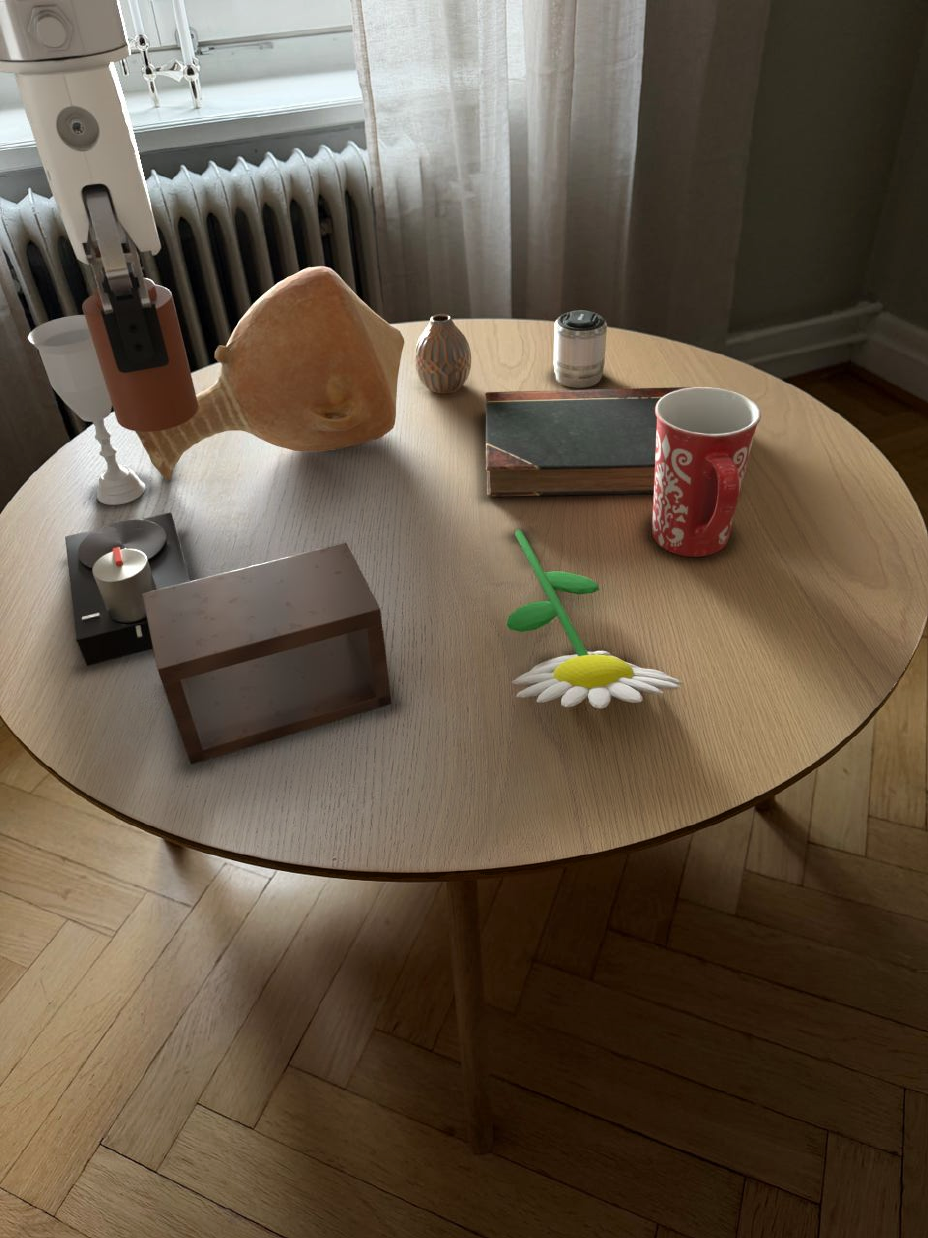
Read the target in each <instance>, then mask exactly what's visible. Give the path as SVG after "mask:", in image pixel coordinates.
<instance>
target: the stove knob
mask: <svg viewBox="0 0 928 1238" xmlns="http://www.w3.org/2000/svg"><path fill="white" fill-rule="evenodd" d="M92 571H93V575H94V578H95V580H96V583H97V586H98V588H99V591H100V593H101V596H102V599H103V601H104V604H105V607H106V609H107V612H108V615H109V616H110V617H111V618H112V619H113V620H115V621H118V622H123V623H129V622H136V621H140V620H142V619H145V618H147V616H146V611H145V606H144V601H143V596H142V594H143V593H146V592H150V591H154V590H157V588H156V585H155V581H154V578H153V575H152V572H151V569H150V566H149V563H148V560H147V557H146V555H145V554H144V553H142V552H141V551H138V550H134V549H122V550H120V547H117V548H113V552H110V553H108V554H106V555H104V556H102V557H101V558H100V559H98V560H97V561H96V563H95V564H94V566H93V570H92Z"/></svg>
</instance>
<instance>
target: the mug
mask: <svg viewBox="0 0 928 1238" xmlns="http://www.w3.org/2000/svg"><path fill="white" fill-rule="evenodd" d="M694 387H695V388H686V389H681V390H677V391H674V392H671V393H669V394H667V395H665V396H663V397H662V398H661V399H660V400H659V401H658V403H657V404H656V407H655V413H656V416H657V433H656V456H655V478H654V494H653V501H652V502H653V504H652V519H651V535H652V538H653V540H654V541H655V543H657V544H658V545H659V546H660V547H661V548H663V550H666V551H668V552H670V553H672V554H675V555H678V556H682V557H692V558H693V557H705V556H710V555H713V554H716V553H718V552H719V551H721V550H722V549H724V548H725V547H726V545H727V543H728V540H729V538H730V533H731V530H732V526H733V525H732V524H733V521H734V516H735V513H736V509H737V506H738V500H739V498H740V493H741V488H742V485H743V481H744V476H745V473H746V468H747V467H748V461H749V458H750V454H751V449H752V445H753V441H754V437H755V433H756V430H757V427H758V425H759V423H760V422H761V418H762V412H761V409H760V407H759V406H758V404H757V403H756V402H754V401H753V400H752V399H750V397H749V398H748V397H747V396H745V395H743V394H741V393H738V392H735V391H732V390H728V389H724V388H717V387H706V386H694Z"/></svg>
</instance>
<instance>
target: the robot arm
mask: <svg viewBox="0 0 928 1238" xmlns="http://www.w3.org/2000/svg"><path fill="white" fill-rule="evenodd" d="M127 35H128V34H127V31H126V27H125V22H124V18H123V15H122V10H121V5H120V0H0V73H5V74H13V75H14V79H15V82H16V85H17V88H18V91H19V96H20V98H21V101H22V104H23V107H24V111H25V114H26V118H27V121H28V124H29V127H30V130H31V133H32V137H33V139H34V142H35V146H36V149H37V152H38V156H39V158H40V162H41V164H42V167H43V170H44V173H45V176H46V180H47V183H48V185H49V188H50V191H51V193H52V197H53V199H54V202H55V206H56V207H57V210H58V213H59V215H60V219H61V221H62V223H63V226H64V229H65V231H66V234H67V237H68V239H69V241H70V244H71V247H72V249H73V252H74V255H75V257H76V260H78V261H79V262H81V263H83V264H85V265H88V266H90V267H91V269H92V272H93V276H94V279H95V283H96V287H98V290H99V294H100V298H101V301H102V305H103V308H104V309H102V310H101V314H102V318H103V321H104V324H105V328H106V331H107V334H108V338H109V341H110V345H111V348H112V351H113V355H114V358H115V361H116V365H117V368H118V370H119V371H120V372H122V373H128V372H134V371H139V370H145V369H150V368H156V367H162V366H166V365H167V364H168V363H169V358H168V354H167V350H166V346H165V342H164V338H163V334H162V330H161V326H160V322H159V319H158V315H157V311H156V307H155V303H154V301H152V302H150V300H149V296H148V292H147V288H146V284H145V281H144V278H147V279H148V277H147V273H146V269H145V266H141V262H140V258H141V257H140V254H139V253H138V251H137V249H138V250H139V252H140V253H145V252H150V253H151V255H152V256H157V255H158V254H159V252H160V251H161V249H162V245H161V241H160V238H159V237H160V236H159V233H158V229H157V224H156V221H155V217H154V214H153V213H154V212H153V209H152V204H151V200H150V196H149V193H148V188H147V184H146V180H145V176H144V172H143V167H142V163H141V159H140V154H139V151H138V146H137V142H136V139H135V138H136V137H135V134H134V131H133V127H132V123H131V119H130V115H129V111H128V109H127V105H126V101H125V97H124V94H123V90H122V87H121V84H120V81H119V77H118V74H117V71H116V68H115V65H114V63H117V62H120V61H123V60H125V59H127V58H128V57H130V56H131V54H132V52H131V49H130V44H129V41H128V39H129V38H128V36H127ZM128 264H131V265H132V269H133V272H128V268H127V265H128ZM102 268H105V272H106V276H104V273H103V270H102ZM133 273H134V274H133ZM138 292H139V295H140V296H139V295H138ZM140 301H141V302H140Z"/></svg>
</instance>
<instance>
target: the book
mask: <svg viewBox="0 0 928 1238" xmlns="http://www.w3.org/2000/svg"><path fill="white" fill-rule="evenodd" d="M695 387H696V386H676V387H675V386H674V387H671V386H670V387H638V388H635V387H633V388H603V389H602V388H601V389H600V388H599V389H598V388H597V389H559V390H556V389H555V390H522V391H521V390H517V391H513V390H512V391H510V390H509V391H486V392H485V394H484V395H485V471H486V494H487V497H490V498H493V497H495V498H497V497H539V496H540V497H541V496H592V495H593V496H594V495H595V496H598V495H599V496H604V495H605V496H606V495H609V496H610V495H647V494H649V495H652V494H653V495H654V478H655V456H656V433H657V416H656V413H655V407H656V404H657V403H658V401H659V400H660V399H661V398H662V397H663V396H665V395H667V394H669V393H671V392H674V391H677V390H681V389H686V388H695Z"/></svg>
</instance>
